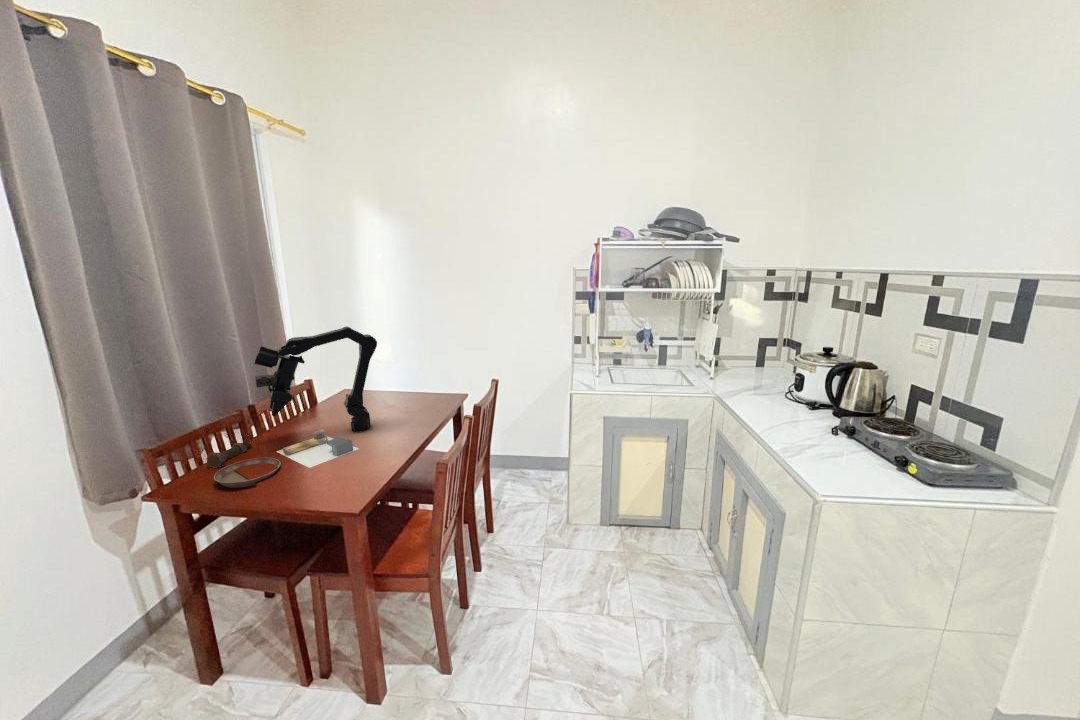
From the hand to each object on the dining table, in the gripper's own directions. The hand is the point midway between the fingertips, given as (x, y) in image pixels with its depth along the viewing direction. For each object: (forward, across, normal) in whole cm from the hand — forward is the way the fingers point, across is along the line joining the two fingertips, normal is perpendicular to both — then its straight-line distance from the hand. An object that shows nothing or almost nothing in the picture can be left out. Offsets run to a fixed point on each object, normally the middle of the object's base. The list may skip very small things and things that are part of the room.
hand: (272, 411), depth 159 cm
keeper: (+4, +21, +21) cm, 30 cm away
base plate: (+8, +15, +16) cm, 23 cm away
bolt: (+18, +2, -7) cm, 20 cm away
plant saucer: (+16, +22, -3) cm, 28 cm away
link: (+8, +10, +13) cm, 18 cm away
